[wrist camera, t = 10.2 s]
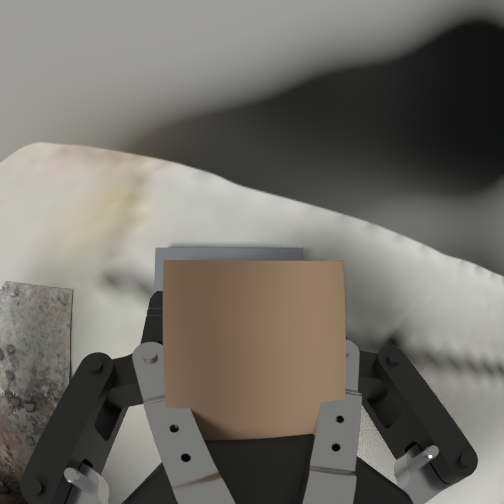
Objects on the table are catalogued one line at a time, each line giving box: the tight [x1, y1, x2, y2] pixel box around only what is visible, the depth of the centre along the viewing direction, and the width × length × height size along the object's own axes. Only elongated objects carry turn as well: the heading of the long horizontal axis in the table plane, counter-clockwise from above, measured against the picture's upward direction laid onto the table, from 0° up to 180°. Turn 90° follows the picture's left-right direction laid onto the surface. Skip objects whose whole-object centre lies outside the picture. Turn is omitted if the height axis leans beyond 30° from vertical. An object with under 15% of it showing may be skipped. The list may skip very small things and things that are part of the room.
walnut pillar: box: [163, 260, 346, 440], centre depth 13 cm, size 5×5×10 cm
